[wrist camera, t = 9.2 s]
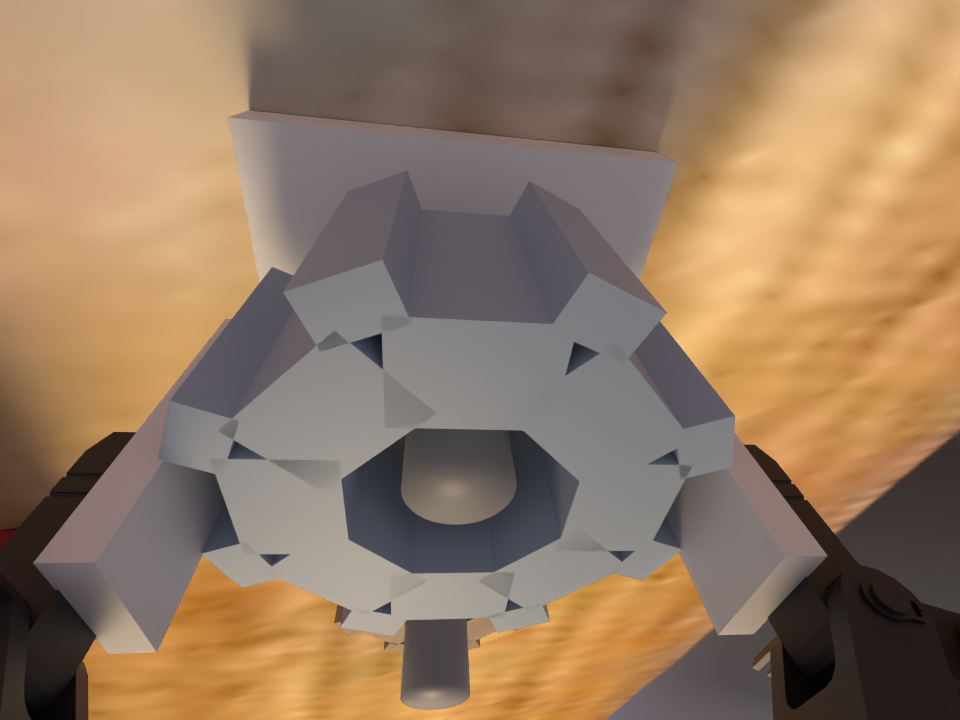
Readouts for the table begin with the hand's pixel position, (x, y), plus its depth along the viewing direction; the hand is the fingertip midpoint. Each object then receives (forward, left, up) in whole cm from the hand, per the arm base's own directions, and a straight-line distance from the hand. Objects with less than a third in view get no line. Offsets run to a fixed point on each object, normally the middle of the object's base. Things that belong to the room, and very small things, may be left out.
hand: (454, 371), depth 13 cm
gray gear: (0, 0, 0) cm, 0 cm away
